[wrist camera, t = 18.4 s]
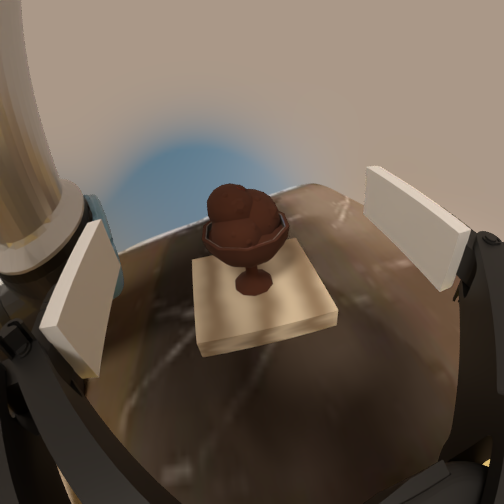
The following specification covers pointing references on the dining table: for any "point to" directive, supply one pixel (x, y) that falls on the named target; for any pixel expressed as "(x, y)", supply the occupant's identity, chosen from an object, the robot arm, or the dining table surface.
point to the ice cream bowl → (244, 233)
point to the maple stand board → (259, 303)
